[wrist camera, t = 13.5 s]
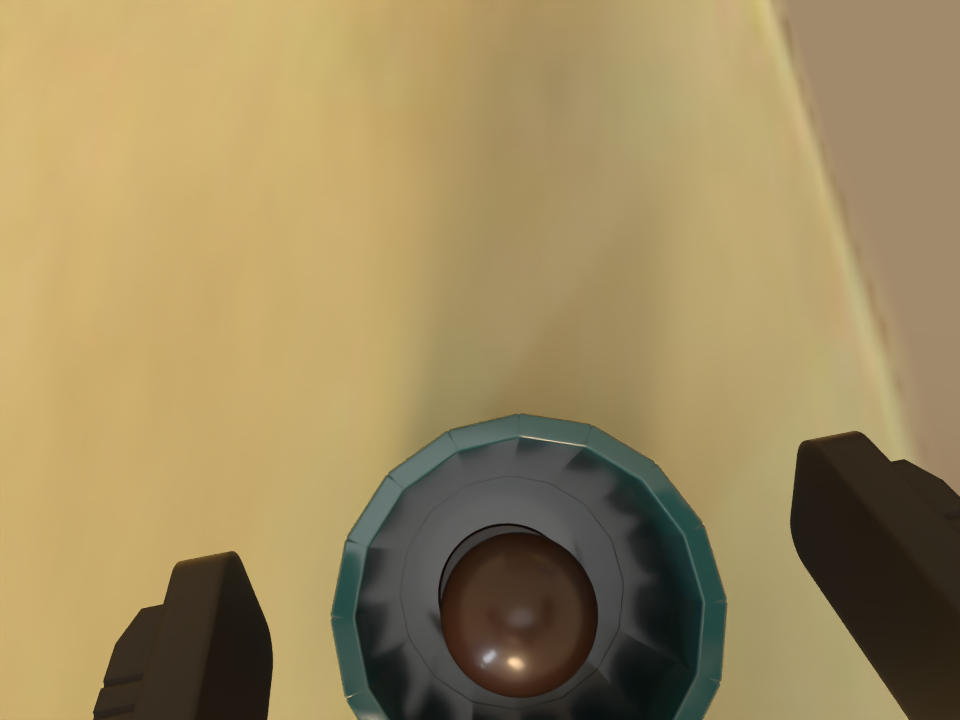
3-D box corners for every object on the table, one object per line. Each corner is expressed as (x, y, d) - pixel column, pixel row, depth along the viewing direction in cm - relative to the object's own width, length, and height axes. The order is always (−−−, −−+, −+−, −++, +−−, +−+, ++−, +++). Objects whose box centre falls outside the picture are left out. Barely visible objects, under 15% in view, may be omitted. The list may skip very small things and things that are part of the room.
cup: (366, 698, 23) (295, 789, 14) (411, 446, 25) (374, 389, 16) (620, 741, 23) (708, 862, 14) (647, 484, 24) (740, 446, 16)
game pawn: (428, 651, 23) (395, 716, 14) (451, 514, 24) (434, 492, 15) (563, 674, 22) (618, 755, 14) (581, 535, 23) (643, 526, 14)
